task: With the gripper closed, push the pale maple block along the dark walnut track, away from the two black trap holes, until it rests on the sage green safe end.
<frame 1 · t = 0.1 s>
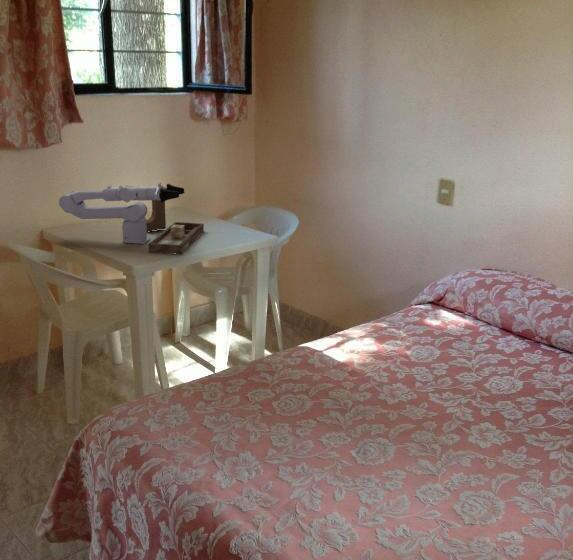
hand: (181, 192, 267), 22 cm above the table, tool horizontal, fingers open, 7 cm apart
wooden block: (154, 230, 294), on the table
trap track: (178, 241, 278), on the table
maple block: (177, 236, 278), point 2 cm above the table, touching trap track
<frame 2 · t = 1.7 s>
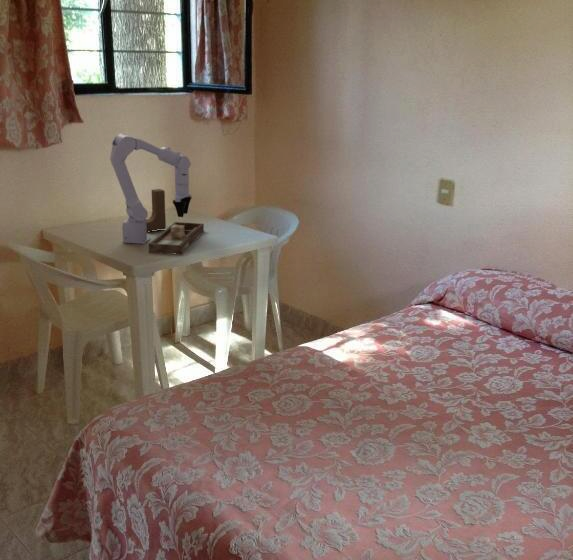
hand: (182, 215, 283), 9 cm above the table, tool pointing down, fingers open, 6 cm apart
nothing on the table moved.
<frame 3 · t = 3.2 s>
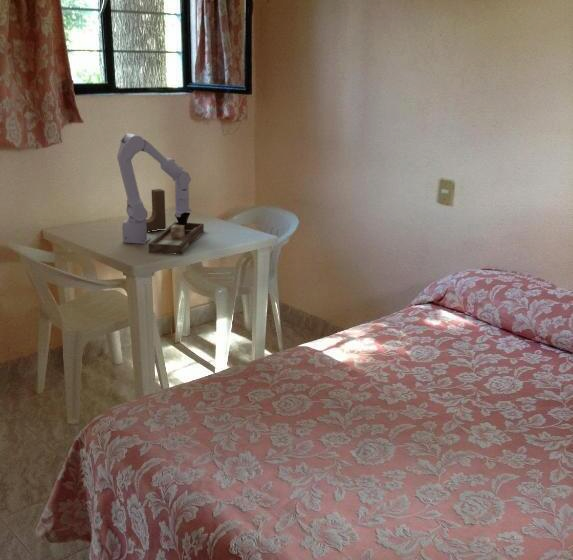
hand: (182, 229, 285), 3 cm above the table, tool pointing down, fingers closed
nothing on the table moved.
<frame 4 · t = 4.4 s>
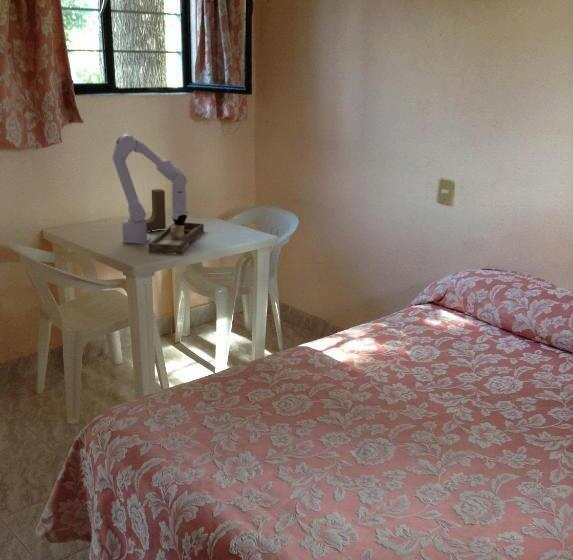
hand: (180, 232, 280), 3 cm above the table, tool pointing down, fingers closed
maple block: (177, 236, 277), point 2 cm above the table, touching gripper
everything else where it was.
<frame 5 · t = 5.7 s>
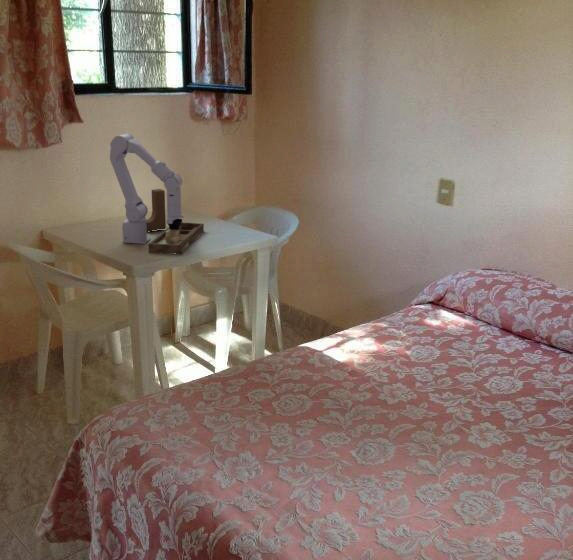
hand: (175, 236, 273), 3 cm above the table, tool pointing down, fingers closed
maple block: (172, 241, 270), point 2 cm above the table, touching gripper
everything else where it was.
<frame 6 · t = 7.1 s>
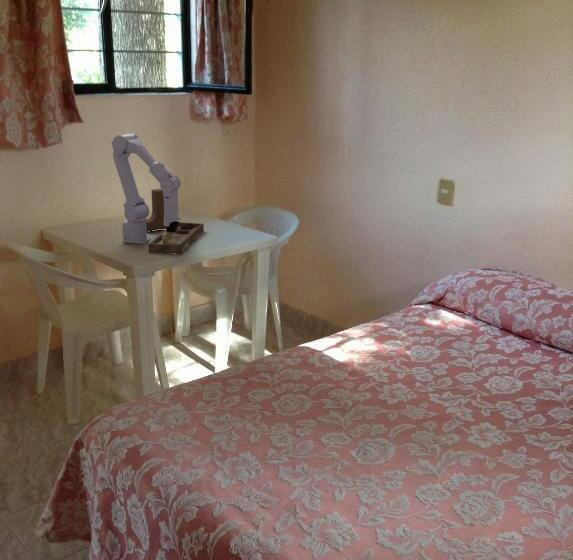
hand: (172, 239, 269), 3 cm above the table, tool pointing down, fingers closed
maple block: (169, 244, 266), point 2 cm above the table, touching gripper, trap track
everything else where it was.
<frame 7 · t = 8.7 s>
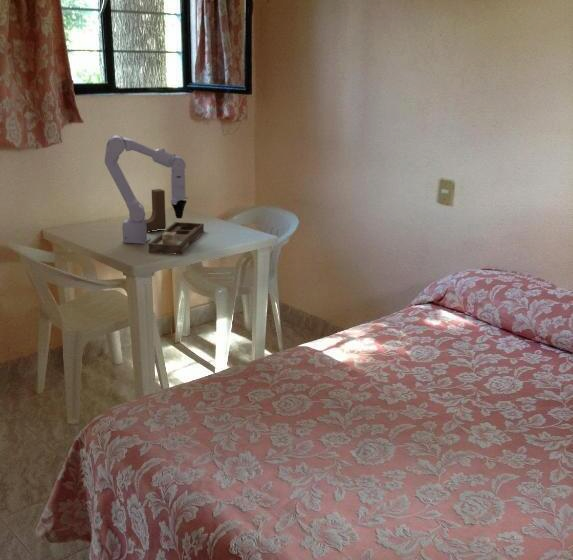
hand: (179, 218, 277), 9 cm above the table, tool pointing down, fingers closed
maple block: (169, 244, 266), point 2 cm above the table, touching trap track
everything else where it was.
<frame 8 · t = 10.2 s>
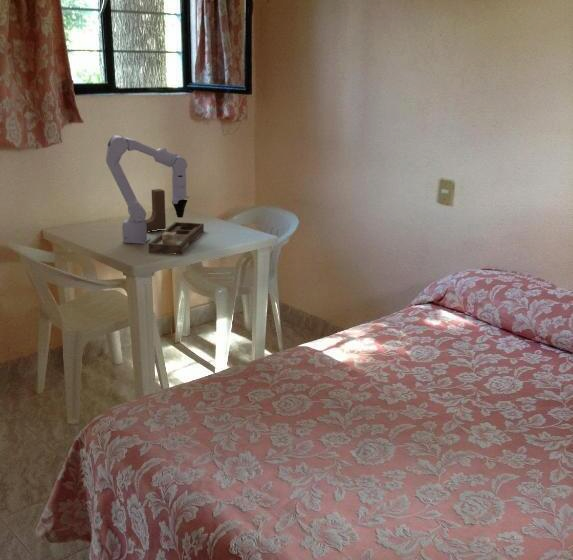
hand: (180, 217, 279), 9 cm above the table, tool pointing down, fingers closed
nothing on the table moved.
at the end: maple block inside the target area on the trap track (0.3 cm from its centre), point 2.0 cm above the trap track's base; maple block tilted 0°; maple block moved 12.3 cm from its start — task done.
